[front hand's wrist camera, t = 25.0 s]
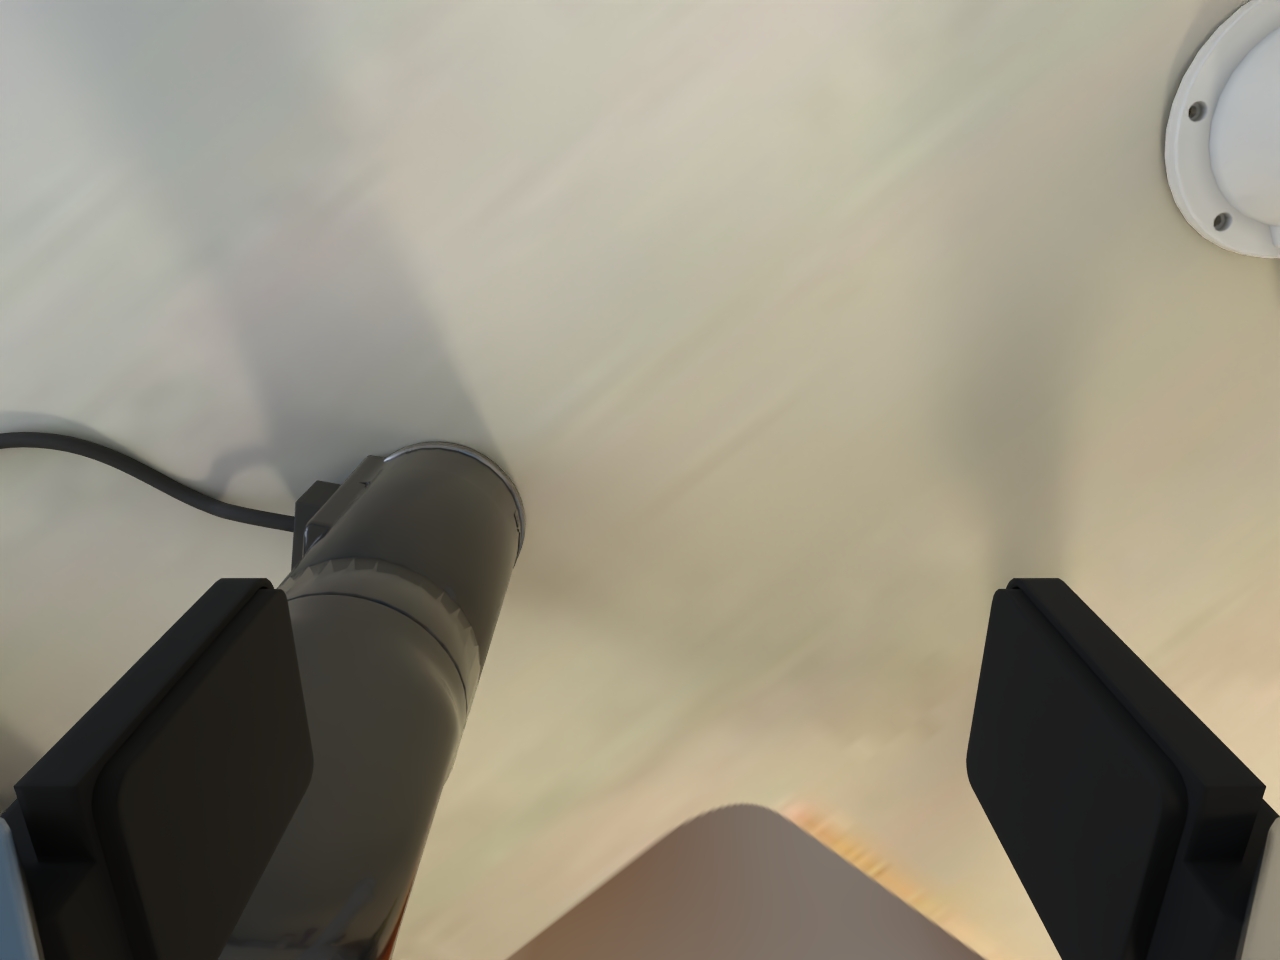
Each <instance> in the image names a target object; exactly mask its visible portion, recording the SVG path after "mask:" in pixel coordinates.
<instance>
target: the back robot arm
mask: <svg viewBox="0 0 1280 960" xmlns="http://www.w3.org/2000/svg"><path fill="white" fill-rule="evenodd" d="M15 447H34V448H47V449H55V450H61V451H67V452H71V453H75V454H79V455H82V456H85V457H89V458H92V459H95V460H97V461H100V462H103V463H105V464H108V465H110V466H112V467H115V468H117V469H119V470H121V471H123V472H125V473H127V474H129V475H132V476H134V477H136V478H137V479H139V480H141V481H143V482H145V483H147V484H149V485H151V486H153V487H155V488H157V489H159V490H160V491H162V492H164V493H166V494H168V495H170V496H172V497H174V498H176V499H178V500H180V501H182V502H184V503H186V504H188V505H190V506H193V507H195V508H197V509H200V510H202V511H205V512H207V513H210V514H212V515H215V516H218V517H221V518H225V519H229V520H233V521H238V522H242V523H247V524H252V525H257V526H262V527H268V528H273V529H279V530H285V531H290V532H294V537H293V552H292V567H291V572H290V573H289V575H288V576H287V577H286V578H285V579H284V581H283V582H282V583H281V584H280V585H279V587H278V588H277V589H282V590H283V591H284V592H285V594H286V596H287V600H288V606H289V612H290V618H291V624H292V630H293V636H294V642H295V648H296V654H297V660H298V666H299V672H300V678H301V684H302V690H303V696H304V702H305V708H306V714H307V720H308V726H309V732H310V738H311V744H312V750H313V758H314V765H313V774H312V778H311V782H310V784H309V786H308V789H307V790H306V792H305V794H304V796H303V798H302V800H301V802H300V804H299V806H298V808H297V810H296V811H295V813H294V815H293V817H292V819H291V821H290V823H289V825H288V827H287V829H286V831H285V832H284V834H283V836H282V838H281V840H280V842H279V844H278V846H277V848H276V850H275V852H274V853H273V855H272V857H271V859H270V861H269V863H268V865H267V867H266V869H265V871H264V873H263V874H262V876H261V878H260V880H259V882H258V884H257V886H256V888H255V890H254V892H253V894H252V895H251V897H250V899H249V901H248V903H247V905H246V907H245V909H244V911H243V913H242V915H241V917H240V918H239V920H238V922H237V924H236V926H235V928H234V930H233V932H232V934H231V936H230V938H229V939H228V941H227V943H226V945H225V947H224V949H223V951H222V953H221V955H220V957H219V959H218V960H391V959H392V955H393V951H394V947H395V944H396V940H397V936H398V933H399V929H400V926H401V923H402V919H403V916H404V913H405V910H406V907H407V903H408V900H409V897H410V893H411V890H412V887H413V884H414V880H415V877H416V874H417V870H418V867H419V864H420V860H421V857H422V854H423V851H424V847H425V844H426V841H427V837H428V834H429V831H430V828H431V824H432V821H433V818H434V815H435V812H436V808H437V805H438V802H439V799H440V795H441V792H442V789H443V786H444V784H445V783H446V781H447V779H448V777H449V775H450V773H451V770H452V768H453V765H454V762H455V759H456V755H457V751H458V748H459V744H460V741H461V737H462V734H463V731H464V728H465V725H466V722H467V718H468V715H469V712H470V709H471V705H472V702H473V699H474V695H475V692H476V689H477V685H478V682H479V679H480V676H481V672H482V669H483V666H484V663H485V659H486V656H487V653H488V649H489V646H490V643H491V640H492V636H493V633H494V630H495V627H496V623H497V620H498V617H499V613H500V610H501V607H502V604H503V600H504V597H505V594H506V591H507V587H508V584H509V581H510V577H511V574H512V571H513V568H514V566H515V563H516V560H517V558H518V556H519V553H520V550H521V547H522V544H523V540H524V535H525V513H524V508H523V504H522V501H521V498H520V496H519V494H518V491H517V490H516V488H515V486H514V484H513V483H512V481H511V480H510V478H509V477H508V476H507V475H506V474H505V472H504V471H503V470H502V469H501V468H500V467H499V466H498V465H496V464H495V463H494V462H493V461H491V460H490V459H488V458H487V457H486V456H484V455H482V454H480V453H479V452H477V451H474V450H472V449H470V448H467V447H464V446H461V445H457V444H453V443H446V442H425V443H418V444H414V445H410V446H407V447H405V448H402V449H400V450H398V451H396V452H394V453H392V454H391V455H389V456H388V457H377V456H372V455H370V456H367V457H366V458H365V459H364V460H363V462H362V463H361V464H360V465H359V466H358V467H357V468H356V469H355V470H354V472H353V473H352V474H351V475H350V476H349V477H348V478H347V479H346V480H345V482H344V483H343V484H342V485H339V484H334V483H329V482H323V481H316V482H315V483H314V484H313V485H312V486H311V487H310V488H309V489H308V490H307V491H306V492H305V493H304V494H303V495H302V496H301V497H300V498H299V499H298V500H297V501H296V506H295V517H293V516H287V515H282V514H276V513H270V512H265V511H260V510H254V509H249V508H245V507H240V506H236V505H231V504H227V503H224V502H221V501H218V500H216V499H213V498H211V497H208V496H205V495H203V494H201V493H199V492H197V491H194V490H192V489H190V488H188V487H186V486H184V485H182V484H180V483H178V482H176V481H174V480H172V479H171V478H169V477H167V476H165V475H163V474H161V473H159V472H157V471H156V470H154V469H152V468H150V467H148V466H146V465H144V464H142V463H140V462H138V461H136V460H134V459H132V458H130V457H128V456H126V455H123V454H121V453H119V452H117V451H114V450H112V449H109V448H107V447H104V446H101V445H98V444H95V443H92V442H89V441H86V440H82V439H78V438H74V437H69V436H63V435H57V434H49V433H36V432H16V433H4V434H0V449H3V448H15Z"/></svg>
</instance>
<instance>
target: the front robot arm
mask: <svg viewBox="0 0 1280 960" xmlns="http://www.w3.org/2000/svg"><path fill="white" fill-rule="evenodd" d="M1189 109H1191V114H1190V116H1188V115H1189ZM1165 164H1166V172H1167V179H1168V184H1169V186H1170V189H1171V192H1172V195H1173V197H1174V200H1175V203H1176V205H1177V207H1178V208H1179V210H1180V211H1181V213H1182V214H1183V216H1184V217H1185V219H1186V221H1187V222H1188V223H1189V224H1190V225H1191V226H1192V227H1193V228H1194V229H1195V230H1196V231H1197V232H1198V233H1199V234H1200V235H1201V236H1202V237H1203V238H1205V239H1207V240H1208V241H1210V242H1212V243H1214V244H1215V245H1217V246H1219V247H1221V248H1222V249H1225V250H1229V251H1232V252H1235V253H1239V254H1242V255H1247V256H1254V257H1261V258H1280V0H1251V1H1250V2H1248V3H1246V4H1245V5H1243V6H1242V7H1241V8H1239V9H1238V10H1237V11H1236V12H1235V13H1234V14H1233V15H1232V16H1231V17H1229V18H1228V19H1227V20H1226V21H1225V22H1224V23H1223V24H1222V25H1220V26H1219V27H1218V28H1217V30H1216V31H1215V32H1214V33H1213V35H1212V36H1211V37H1210V38H1209V39H1208V41H1207V42H1206V43H1205V44H1204V45H1203V47H1202V48H1201V49H1200V50H1199V52H1198V53H1197V55H1196V57H1195V58H1194V60H1193V62H1192V63H1191V65H1190V67H1189V68H1188V70H1187V72H1186V73H1185V75H1184V77H1183V79H1182V81H1181V84H1180V86H1179V89H1178V91H1177V94H1176V96H1175V98H1174V101H1173V103H1172V107H1171V111H1170V116H1169V120H1168V124H1167V129H1166V139H1165ZM1215 218H1216V221H1215V223H1214V220H1215ZM313 765H314V758H313V750H312V744H311V738H310V732H309V726H308V720H307V714H306V708H305V702H304V696H303V690H302V684H301V678H300V672H299V666H298V660H297V654H296V648H295V642H294V636H293V630H292V624H291V618H290V612H289V606H288V600H287V596H286V594H285V592H284V591H283V590H282V589H274V587H273V585H272V583H271V582H270V581H269V580H268V579H267V578H221V579H220V580H218V581H217V582H215V583H214V584H213V586H212V587H211V588H210V589H209V590H208V591H207V592H206V593H205V594H204V595H203V596H202V597H201V598H200V599H199V600H198V601H197V602H196V603H195V604H194V605H193V606H192V607H191V608H190V609H189V610H188V611H187V612H186V613H185V614H184V615H183V616H182V617H181V618H180V619H179V620H178V621H177V622H176V623H175V624H174V625H173V626H172V627H171V628H170V629H169V630H168V631H167V632H166V633H165V634H164V635H163V636H162V637H161V638H160V639H159V640H158V641H157V642H156V643H155V644H154V645H153V646H152V647H151V648H150V649H149V650H148V651H147V652H146V653H145V654H144V655H143V656H142V657H141V658H140V659H139V660H138V661H137V662H136V663H135V664H134V665H133V666H132V667H131V668H130V669H129V670H128V671H127V672H126V673H125V674H124V675H123V676H122V677H121V678H120V680H119V681H118V682H117V683H116V684H115V685H114V686H113V687H112V688H111V689H110V690H109V691H108V692H107V693H106V694H105V695H104V696H103V697H102V698H101V699H100V700H99V701H98V702H97V703H96V704H95V705H94V706H93V707H92V708H91V709H90V710H89V711H88V712H87V713H86V714H85V715H84V716H83V717H82V718H81V719H80V720H79V721H78V722H77V723H76V724H75V725H74V726H73V727H72V728H71V729H70V730H69V731H68V732H67V733H66V734H65V735H64V736H63V737H62V738H61V739H60V740H59V741H58V742H57V743H56V744H55V745H54V746H53V747H52V748H51V749H50V750H49V751H48V752H47V753H46V754H45V755H44V756H43V757H42V758H41V759H40V760H39V761H38V762H37V763H36V764H35V765H34V766H33V767H32V768H31V769H30V770H29V771H28V773H27V774H26V775H25V776H24V777H23V778H22V779H21V780H20V781H19V782H18V783H17V784H16V785H15V786H14V789H15V792H16V795H17V799H16V801H15V802H14V803H13V804H12V805H11V806H10V807H9V808H8V809H7V810H6V811H5V812H4V813H3V814H2V815H1V816H0V960H218V959H219V957H220V955H221V953H222V951H223V949H224V947H225V945H226V943H227V941H228V939H229V938H230V936H231V934H232V932H233V930H234V928H235V926H236V924H237V922H238V920H239V918H240V917H241V915H242V913H243V911H244V909H245V907H246V905H247V903H248V901H249V899H250V897H251V895H252V894H253V892H254V890H255V888H256V886H257V884H258V882H259V880H260V878H261V876H262V874H263V873H264V871H265V869H266V867H267V865H268V863H269V861H270V859H271V857H272V855H273V853H274V852H275V850H276V848H277V846H278V844H279V842H280V840H281V838H282V836H283V834H284V832H285V831H286V829H287V827H288V825H289V823H290V821H291V819H292V817H293V815H294V813H295V811H296V810H297V808H298V806H299V804H300V802H301V800H302V798H303V796H304V794H305V792H306V790H307V789H308V786H309V784H310V782H311V778H312V774H313ZM966 765H967V774H968V778H969V782H970V784H971V786H972V789H973V790H974V792H975V794H976V796H977V798H978V800H979V802H980V804H981V806H982V808H983V810H984V811H985V813H986V815H987V817H988V819H989V821H990V823H991V825H992V827H993V829H994V831H995V832H996V834H997V836H998V838H999V840H1000V842H1001V844H1002V846H1003V848H1004V850H1005V852H1006V853H1007V855H1008V857H1009V859H1010V861H1011V863H1012V865H1013V867H1014V869H1015V871H1016V873H1017V874H1018V876H1019V878H1020V880H1021V882H1022V884H1023V886H1024V888H1025V890H1026V892H1027V894H1028V895H1029V897H1030V899H1031V901H1032V903H1033V905H1034V907H1035V909H1036V911H1037V913H1038V915H1039V917H1040V918H1041V920H1042V922H1043V924H1044V926H1045V928H1046V930H1047V932H1048V934H1049V936H1050V938H1051V939H1052V941H1053V943H1054V945H1055V947H1056V949H1057V951H1058V953H1059V955H1060V957H1061V959H1062V960H1280V816H1279V815H1278V814H1277V813H1276V812H1275V811H1274V810H1273V809H1272V808H1271V807H1270V806H1269V805H1268V804H1267V803H1266V802H1265V801H1264V799H1263V795H1264V792H1265V789H1266V786H1265V785H1264V784H1263V783H1262V782H1261V781H1260V780H1259V779H1258V778H1257V777H1256V776H1255V775H1254V774H1253V773H1252V771H1251V770H1250V769H1249V768H1248V767H1247V766H1246V765H1245V764H1244V763H1243V762H1242V761H1241V760H1240V759H1239V758H1238V757H1237V756H1236V755H1235V754H1234V753H1233V752H1232V751H1231V750H1230V749H1229V748H1228V747H1227V746H1226V745H1225V744H1224V743H1223V742H1222V741H1221V740H1220V739H1219V738H1218V737H1217V736H1216V735H1215V734H1214V733H1213V732H1212V731H1211V730H1210V729H1209V728H1208V727H1207V726H1206V725H1205V724H1204V723H1203V722H1202V721H1201V720H1200V719H1199V718H1198V717H1197V716H1196V715H1195V714H1194V713H1193V712H1192V711H1191V710H1190V709H1189V708H1188V707H1187V706H1186V705H1185V704H1184V703H1183V702H1182V701H1181V700H1180V699H1179V698H1178V697H1177V696H1176V695H1175V694H1174V693H1173V692H1172V691H1171V690H1170V689H1169V688H1168V687H1167V686H1166V685H1165V684H1164V683H1163V682H1162V681H1161V680H1160V678H1159V677H1158V676H1157V675H1156V674H1155V673H1154V672H1153V671H1152V670H1151V669H1150V668H1149V667H1148V666H1147V665H1146V664H1145V663H1144V662H1143V661H1142V660H1141V659H1140V658H1139V657H1138V656H1137V655H1136V654H1135V653H1134V652H1133V651H1132V650H1131V649H1130V648H1129V647H1128V646H1127V645H1126V644H1125V643H1124V642H1123V641H1122V640H1121V639H1120V638H1119V637H1118V636H1117V635H1116V634H1115V633H1114V632H1113V631H1112V630H1111V629H1110V628H1109V627H1108V626H1107V625H1106V624H1105V623H1104V622H1103V621H1102V620H1101V619H1100V618H1099V617H1098V616H1097V615H1096V614H1095V613H1094V612H1093V611H1092V610H1091V609H1090V608H1089V607H1088V606H1087V605H1086V604H1085V603H1084V602H1083V601H1082V600H1081V599H1080V598H1079V597H1078V596H1077V595H1076V594H1075V593H1074V592H1073V591H1072V590H1071V589H1070V588H1069V587H1068V586H1067V584H1066V583H1065V582H1063V581H1062V580H1060V579H1059V578H1013V579H1012V580H1011V581H1010V582H1009V583H1008V585H1007V587H1006V589H998V590H997V591H996V592H995V594H994V596H993V600H992V606H991V612H990V618H989V624H988V630H987V636H986V642H985V648H984V654H983V660H982V666H981V672H980V678H979V684H978V690H977V696H976V702H975V708H974V714H973V720H972V726H971V732H970V738H969V744H968V750H967V758H966Z"/></svg>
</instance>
